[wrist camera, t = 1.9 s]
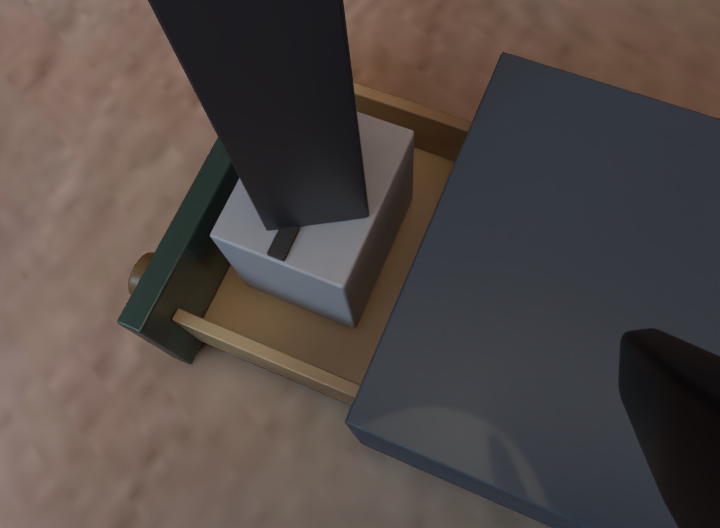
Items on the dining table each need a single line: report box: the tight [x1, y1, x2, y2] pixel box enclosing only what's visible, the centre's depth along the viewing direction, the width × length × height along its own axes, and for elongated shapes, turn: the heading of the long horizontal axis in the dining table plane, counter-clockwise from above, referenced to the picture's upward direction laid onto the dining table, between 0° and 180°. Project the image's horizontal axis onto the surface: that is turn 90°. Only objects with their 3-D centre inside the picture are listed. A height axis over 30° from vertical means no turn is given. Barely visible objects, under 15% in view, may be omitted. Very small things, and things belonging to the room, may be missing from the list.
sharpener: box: [148, 0, 414, 328], centre depth 16 cm, size 5×4×14 cm
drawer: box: [117, 82, 472, 406], centre depth 21 cm, size 13×11×5 cm
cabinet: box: [345, 52, 720, 528], centre depth 19 cm, size 12×11×6 cm
